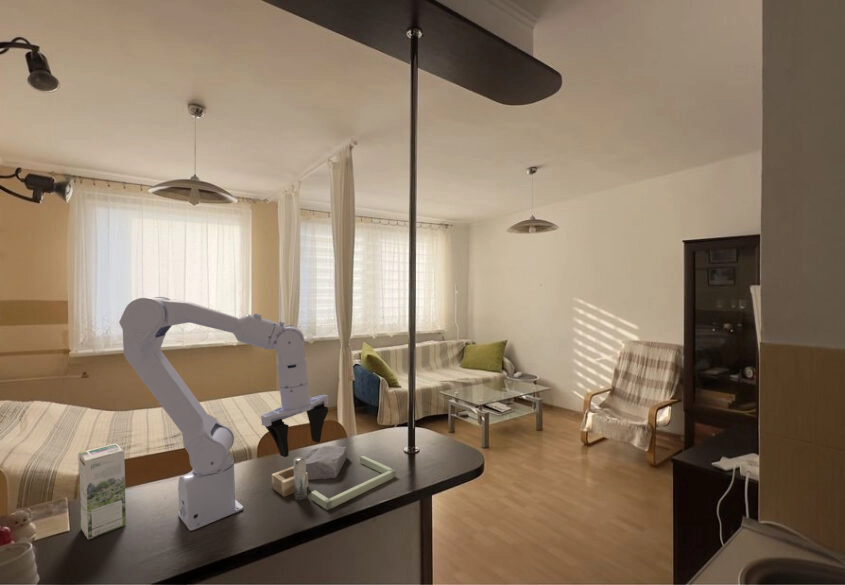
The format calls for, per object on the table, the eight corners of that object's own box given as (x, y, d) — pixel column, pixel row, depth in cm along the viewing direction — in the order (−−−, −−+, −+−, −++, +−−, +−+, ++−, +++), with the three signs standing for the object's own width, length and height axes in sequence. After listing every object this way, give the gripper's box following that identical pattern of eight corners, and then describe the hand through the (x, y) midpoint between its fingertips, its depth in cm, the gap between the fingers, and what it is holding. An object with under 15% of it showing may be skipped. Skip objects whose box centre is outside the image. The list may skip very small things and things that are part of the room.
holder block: (284, 496, 82) (283, 482, 82) (272, 487, 86) (271, 474, 86) (308, 486, 86) (307, 473, 86) (295, 478, 90) (295, 465, 90)
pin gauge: (298, 501, 81) (297, 462, 80) (292, 497, 82) (291, 459, 82) (308, 496, 82) (307, 458, 82) (303, 492, 84) (301, 455, 84)
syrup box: (118, 515, 77) (115, 441, 77) (127, 526, 74) (124, 448, 73) (80, 529, 73) (77, 451, 73) (87, 541, 69) (84, 459, 69)
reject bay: (327, 510, 77) (327, 502, 77) (296, 489, 85) (296, 482, 85) (395, 476, 90) (395, 470, 90) (363, 461, 98) (363, 455, 98)
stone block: (297, 488, 90) (339, 479, 90) (292, 467, 90) (334, 458, 90) (313, 466, 102) (350, 458, 101) (309, 448, 102) (346, 439, 102)
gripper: (271, 396, 74) (279, 467, 74) (334, 377, 85) (340, 439, 85) (253, 392, 78) (260, 458, 79) (315, 374, 90) (321, 432, 90)
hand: (300, 448), depth 83 cm, fingers open, 7 cm apart
